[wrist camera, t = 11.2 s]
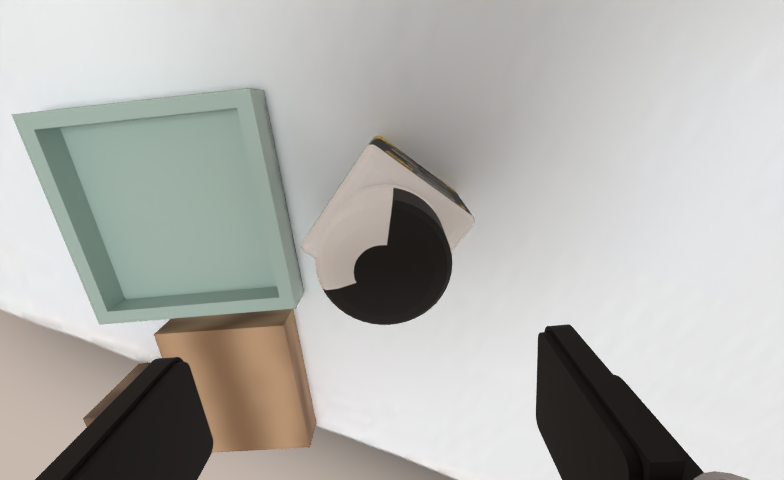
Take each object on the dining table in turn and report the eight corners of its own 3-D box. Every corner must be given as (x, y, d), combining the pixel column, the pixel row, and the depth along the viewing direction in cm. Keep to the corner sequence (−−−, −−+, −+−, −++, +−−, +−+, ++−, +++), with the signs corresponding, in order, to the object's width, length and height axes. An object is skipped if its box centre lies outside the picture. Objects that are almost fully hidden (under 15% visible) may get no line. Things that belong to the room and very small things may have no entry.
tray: (263, 90, 24) (249, 88, 22) (303, 292, 29) (295, 308, 27) (47, 114, 25) (11, 114, 23) (122, 307, 30) (99, 324, 28)
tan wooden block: (294, 305, 30) (283, 325, 28) (317, 419, 34) (309, 447, 32) (176, 313, 31) (153, 334, 28) (212, 425, 35) (195, 453, 32)
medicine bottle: (458, 193, 27) (503, 254, 15) (400, 267, 29) (401, 370, 17) (376, 133, 25) (360, 152, 14) (321, 214, 27) (268, 289, 16)
